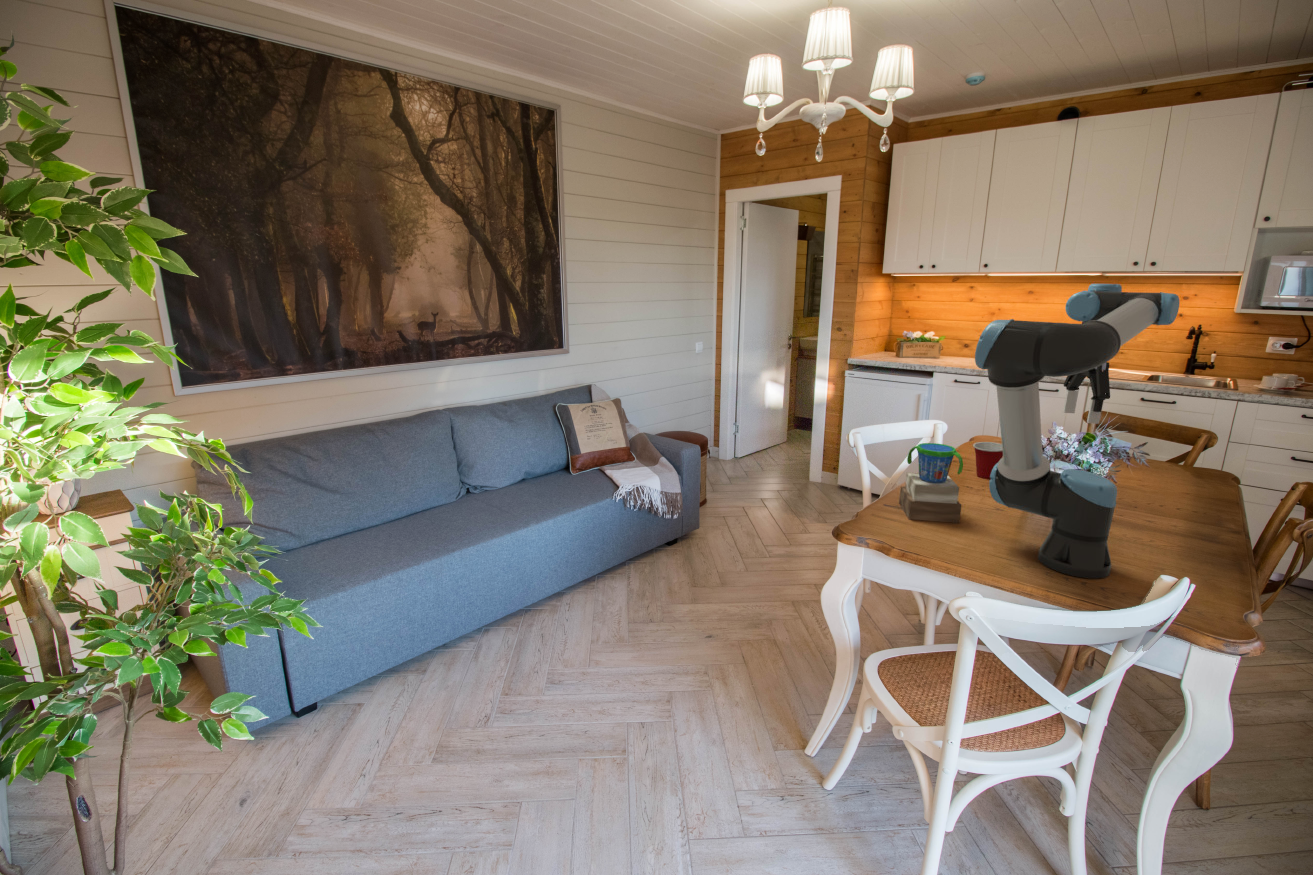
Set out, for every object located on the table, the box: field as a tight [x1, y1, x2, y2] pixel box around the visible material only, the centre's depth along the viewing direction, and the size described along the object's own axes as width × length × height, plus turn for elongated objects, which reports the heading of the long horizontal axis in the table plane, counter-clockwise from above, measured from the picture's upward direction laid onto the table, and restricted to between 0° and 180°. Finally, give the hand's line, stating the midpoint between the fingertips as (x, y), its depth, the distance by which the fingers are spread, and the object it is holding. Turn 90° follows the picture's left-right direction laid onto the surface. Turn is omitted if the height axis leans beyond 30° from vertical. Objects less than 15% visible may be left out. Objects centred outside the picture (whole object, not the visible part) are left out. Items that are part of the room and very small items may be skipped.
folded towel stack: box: [898, 472, 963, 524], centre depth 188 cm, size 14×14×10 cm
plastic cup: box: [972, 441, 1003, 480], centre depth 224 cm, size 11×11×12 cm
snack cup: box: [906, 442, 964, 483], centre depth 185 cm, size 16×10×10 cm
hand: (1080, 418), depth 175 cm, fingers open, 13 cm apart
